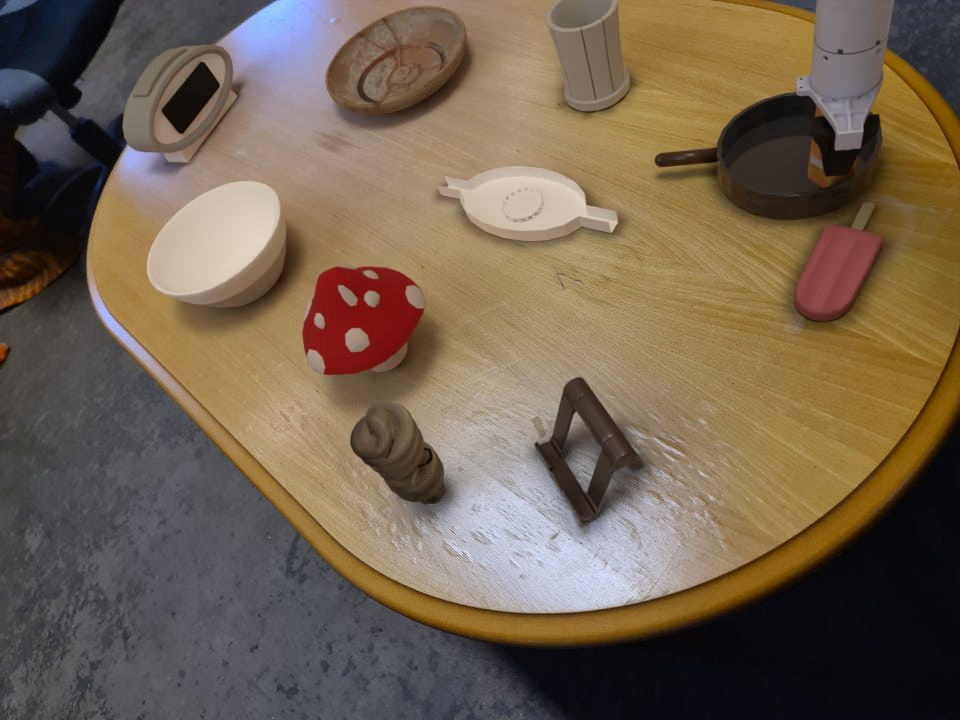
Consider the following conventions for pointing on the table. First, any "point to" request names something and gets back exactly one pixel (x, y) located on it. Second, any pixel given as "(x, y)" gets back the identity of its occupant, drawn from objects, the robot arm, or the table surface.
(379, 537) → the table surface
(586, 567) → the table surface
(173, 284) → the bowl
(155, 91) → the alarm clock
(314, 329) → the decorative mushroom
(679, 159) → the pan handle
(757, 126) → the pan
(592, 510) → the tablet stand
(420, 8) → the ceramic bowl
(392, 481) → the brown twisted statue
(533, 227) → the shallow oval tray
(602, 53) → the cup
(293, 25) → the table surface
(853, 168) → the supplement box
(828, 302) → the popsicle
